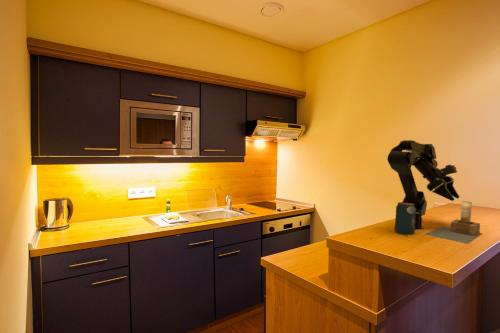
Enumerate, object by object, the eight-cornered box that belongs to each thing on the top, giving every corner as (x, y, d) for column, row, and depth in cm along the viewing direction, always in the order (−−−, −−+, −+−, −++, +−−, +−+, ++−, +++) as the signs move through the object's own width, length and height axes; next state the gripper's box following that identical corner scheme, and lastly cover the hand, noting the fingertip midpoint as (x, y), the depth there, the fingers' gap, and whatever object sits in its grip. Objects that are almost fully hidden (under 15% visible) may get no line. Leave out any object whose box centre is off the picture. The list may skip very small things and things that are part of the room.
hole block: (474, 236, 111) (475, 226, 111) (450, 231, 117) (451, 221, 117) (479, 232, 117) (480, 223, 116) (456, 228, 123) (456, 219, 122)
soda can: (417, 236, 110) (419, 205, 110) (397, 234, 112) (399, 204, 111) (410, 231, 117) (412, 202, 117) (392, 230, 119) (394, 201, 118)
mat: (468, 244, 101) (468, 243, 101) (424, 235, 112) (424, 234, 112) (482, 234, 116) (482, 233, 116) (442, 226, 126) (442, 225, 126)
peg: (464, 233, 115) (467, 202, 114) (457, 231, 118) (460, 201, 118) (471, 233, 116) (473, 202, 115) (464, 231, 119) (466, 201, 118)
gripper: (437, 158, 115) (469, 189, 108) (449, 158, 128) (478, 185, 121) (415, 176, 121) (443, 206, 114) (428, 174, 134) (454, 200, 127)
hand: (456, 199), depth 119 cm, fingers open, 9 cm apart
